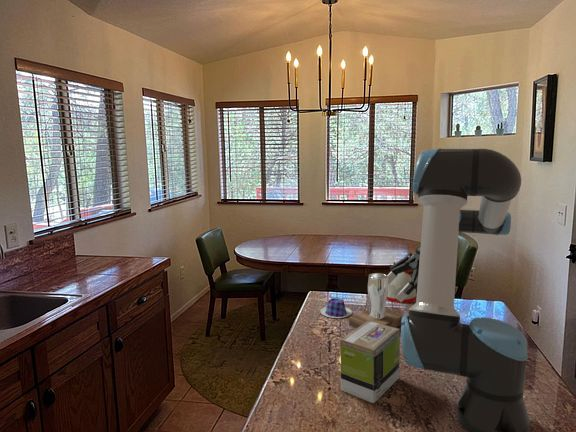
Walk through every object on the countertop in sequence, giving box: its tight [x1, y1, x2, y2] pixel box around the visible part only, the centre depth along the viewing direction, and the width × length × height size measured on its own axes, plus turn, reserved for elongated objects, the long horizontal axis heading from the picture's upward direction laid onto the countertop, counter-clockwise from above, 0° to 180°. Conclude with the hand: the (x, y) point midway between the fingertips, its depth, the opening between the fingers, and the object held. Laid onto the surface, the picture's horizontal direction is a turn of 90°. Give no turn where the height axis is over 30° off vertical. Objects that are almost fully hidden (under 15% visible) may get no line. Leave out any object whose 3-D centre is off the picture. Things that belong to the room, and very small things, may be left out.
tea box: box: [340, 321, 401, 404], centre depth 111 cm, size 15×10×15 cm, turn 141°
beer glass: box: [367, 272, 388, 320], centre depth 148 cm, size 7×7×15 cm
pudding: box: [319, 297, 353, 319], centre depth 161 cm, size 12×12×5 cm
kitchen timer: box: [386, 261, 417, 304], centre depth 176 cm, size 14×14×15 cm
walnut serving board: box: [348, 308, 406, 329], centre depth 150 cm, size 16×12×3 cm
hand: (389, 293), depth 149 cm, fingers open, 13 cm apart
